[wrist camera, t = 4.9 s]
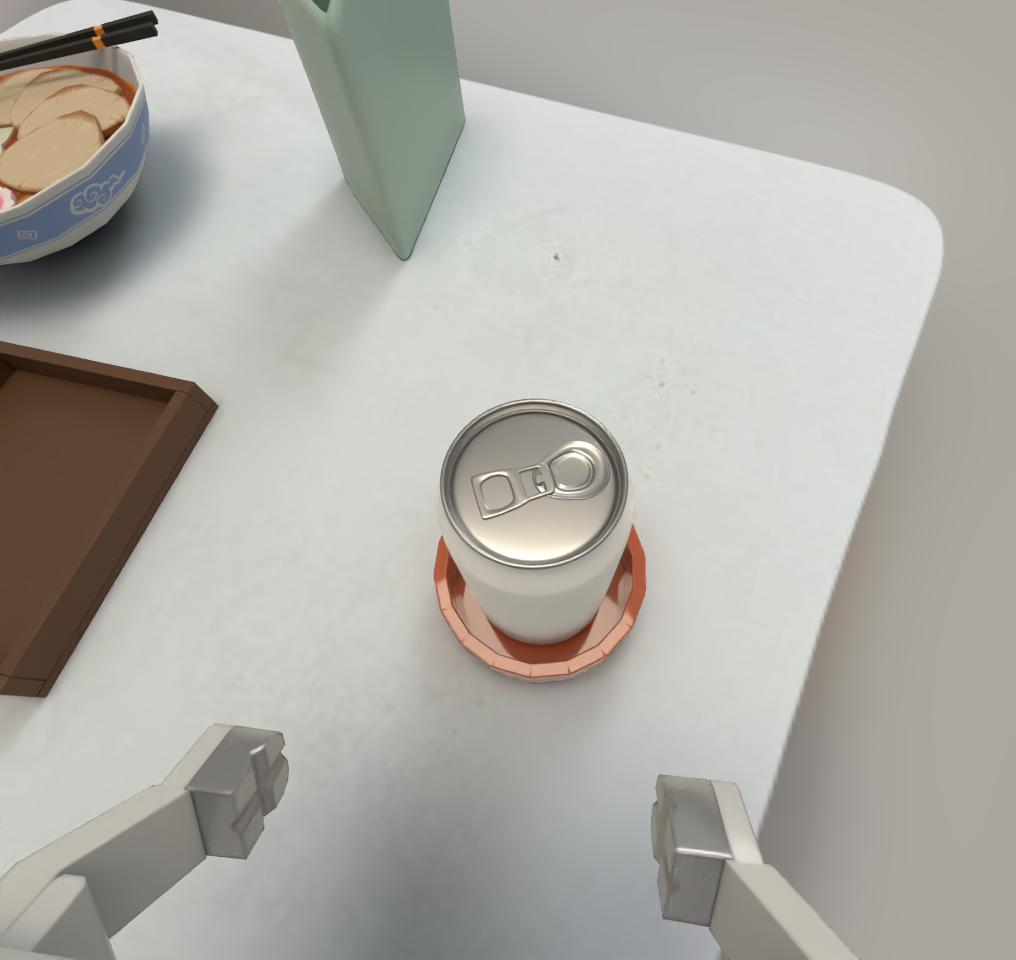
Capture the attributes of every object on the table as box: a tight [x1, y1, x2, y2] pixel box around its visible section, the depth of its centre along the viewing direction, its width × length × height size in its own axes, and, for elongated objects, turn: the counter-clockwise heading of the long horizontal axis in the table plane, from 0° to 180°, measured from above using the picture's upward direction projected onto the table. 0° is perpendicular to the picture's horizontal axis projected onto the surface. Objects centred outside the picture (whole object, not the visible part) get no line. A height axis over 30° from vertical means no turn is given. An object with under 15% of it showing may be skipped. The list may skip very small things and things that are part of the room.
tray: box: [0, 341, 218, 698], centre depth 30 cm, size 18×16×2 cm
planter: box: [278, 0, 465, 260], centre depth 32 cm, size 16×8×20 cm, turn 167°
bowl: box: [434, 523, 646, 683], centre depth 25 cm, size 10×10×3 cm
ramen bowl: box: [0, 10, 158, 265], centre depth 38 cm, size 25×23×8 cm
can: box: [437, 399, 634, 645], centre depth 21 cm, size 6×6×12 cm
